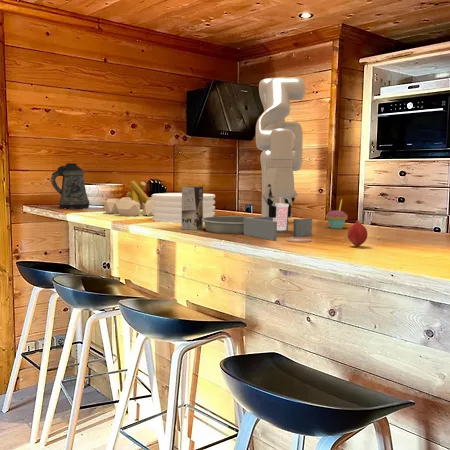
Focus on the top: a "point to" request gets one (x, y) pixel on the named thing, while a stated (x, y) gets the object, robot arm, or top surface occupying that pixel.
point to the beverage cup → (281, 215)
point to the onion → (357, 234)
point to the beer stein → (71, 187)
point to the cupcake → (336, 218)
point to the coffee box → (192, 208)
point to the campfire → (131, 202)
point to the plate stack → (177, 207)
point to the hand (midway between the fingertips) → (279, 216)
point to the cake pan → (225, 224)
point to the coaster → (298, 239)
